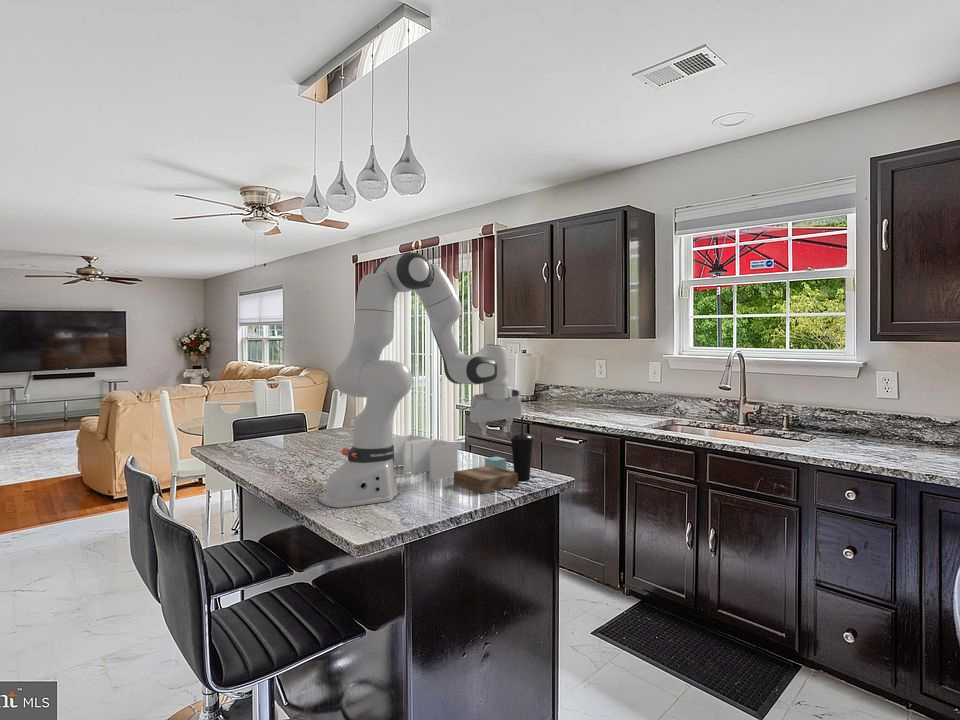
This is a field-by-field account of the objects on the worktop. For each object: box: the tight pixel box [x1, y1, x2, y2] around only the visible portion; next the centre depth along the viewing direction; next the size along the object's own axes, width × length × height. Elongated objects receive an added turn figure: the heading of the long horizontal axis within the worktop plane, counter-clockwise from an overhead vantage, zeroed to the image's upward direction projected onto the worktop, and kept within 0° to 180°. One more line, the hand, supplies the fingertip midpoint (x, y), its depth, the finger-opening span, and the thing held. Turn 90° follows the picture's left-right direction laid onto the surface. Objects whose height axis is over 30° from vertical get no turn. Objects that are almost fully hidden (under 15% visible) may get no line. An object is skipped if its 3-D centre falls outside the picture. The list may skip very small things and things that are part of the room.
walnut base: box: [453, 466, 519, 494], centre depth 171 cm, size 14×14×4 cm
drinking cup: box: [509, 416, 535, 482], centre depth 179 cm, size 8×8×20 cm
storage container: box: [392, 434, 458, 482], centre depth 189 cm, size 25×11×11 cm, turn 45°
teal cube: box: [484, 456, 507, 470], centre depth 188 cm, size 5×5×5 cm
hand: (496, 433), depth 188 cm, fingers open, 8 cm apart
